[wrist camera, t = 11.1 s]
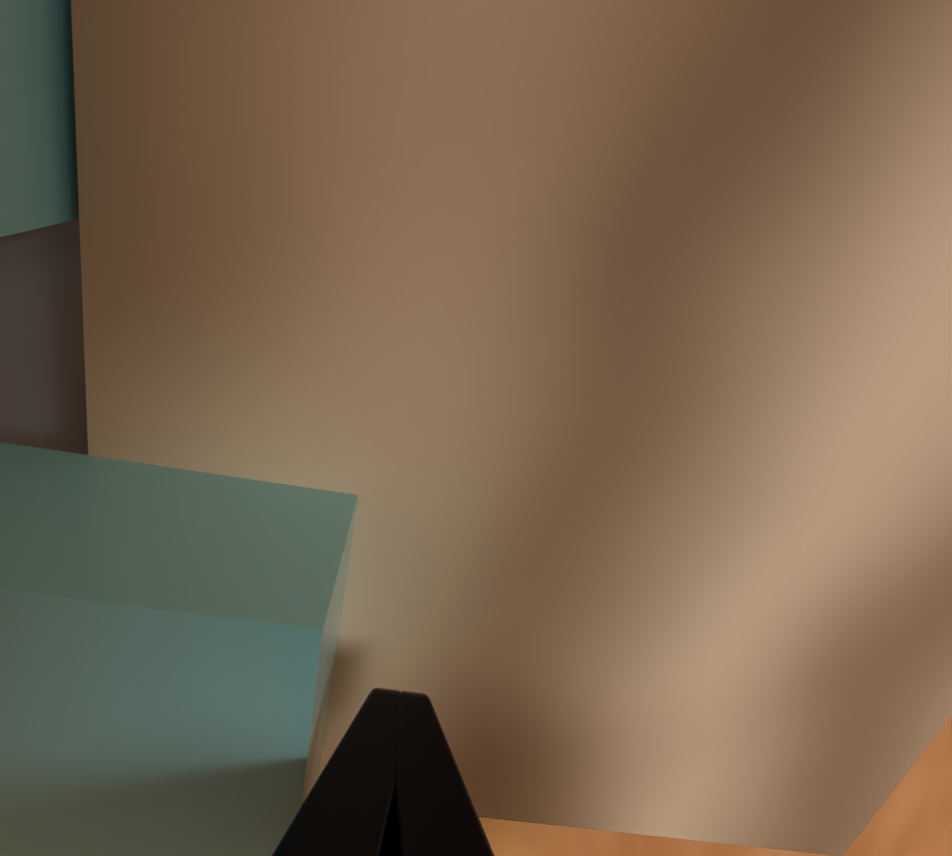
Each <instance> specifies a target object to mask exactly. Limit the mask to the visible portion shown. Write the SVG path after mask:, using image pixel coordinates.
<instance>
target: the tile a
mask: <svg viewBox="0 0 952 856" xmlns="http://www.w3.org/2000/svg"><path fill="white" fill-rule="evenodd" d="M77 219H79V199H78V173H77V147H76V121H75V95H74V68H73V42H72V16H71V0H0V237H3V236H8V235H12V234H16V233H21V232H25V231H29V230H34V229H38V228H42V227H47V226H51V225H55V224H60V223H64V222H68V221H73V220H77Z"/></svg>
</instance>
